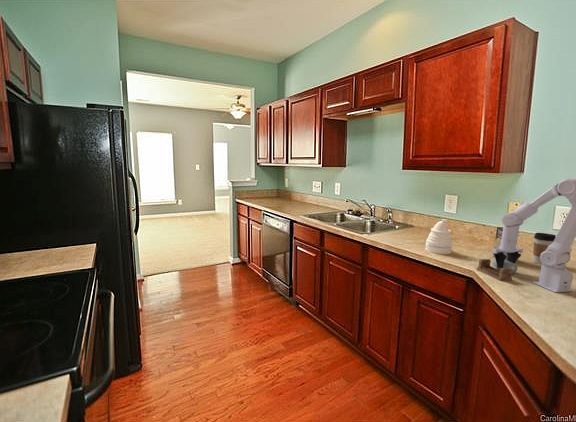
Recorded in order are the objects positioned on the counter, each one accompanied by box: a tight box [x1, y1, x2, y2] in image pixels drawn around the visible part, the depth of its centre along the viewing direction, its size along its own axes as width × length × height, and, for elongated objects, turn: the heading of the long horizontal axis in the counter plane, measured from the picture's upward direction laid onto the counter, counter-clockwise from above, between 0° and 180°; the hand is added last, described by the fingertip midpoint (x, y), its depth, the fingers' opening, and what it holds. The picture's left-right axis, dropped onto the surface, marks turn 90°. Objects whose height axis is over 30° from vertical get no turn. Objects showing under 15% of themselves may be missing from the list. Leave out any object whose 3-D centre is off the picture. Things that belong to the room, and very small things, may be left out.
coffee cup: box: [532, 232, 557, 265], centre depth 151 cm, size 8×8×15 cm
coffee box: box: [492, 226, 520, 261], centre depth 155 cm, size 9×6×16 cm
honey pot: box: [425, 218, 453, 255], centre depth 167 cm, size 13×13×18 cm
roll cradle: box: [476, 258, 513, 282], centre depth 134 cm, size 6×13×5 cm, turn 10°
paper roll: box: [492, 259, 519, 275], centre depth 139 cm, size 8×5×5 cm, turn 10°
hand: (504, 267), depth 139 cm, fingers closed on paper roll, 5 cm apart
